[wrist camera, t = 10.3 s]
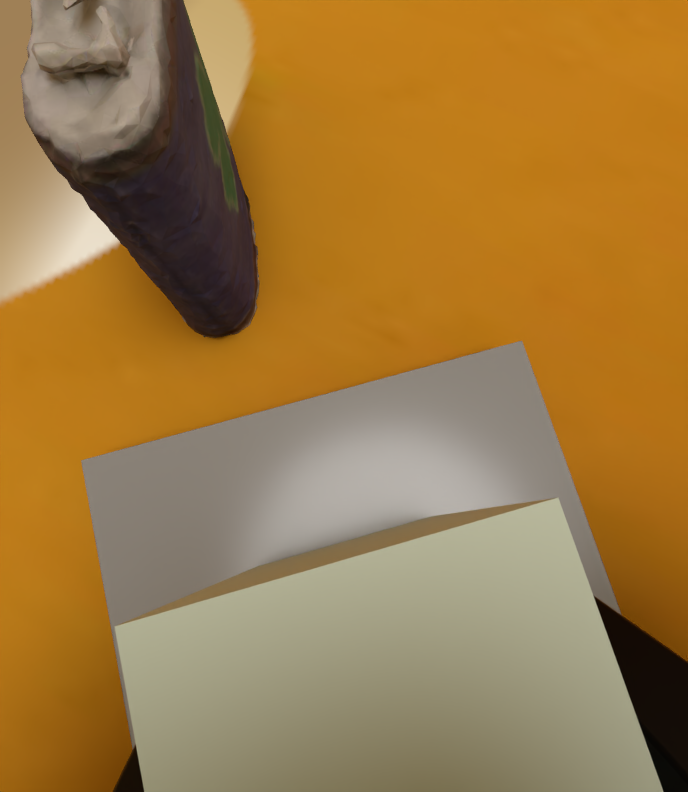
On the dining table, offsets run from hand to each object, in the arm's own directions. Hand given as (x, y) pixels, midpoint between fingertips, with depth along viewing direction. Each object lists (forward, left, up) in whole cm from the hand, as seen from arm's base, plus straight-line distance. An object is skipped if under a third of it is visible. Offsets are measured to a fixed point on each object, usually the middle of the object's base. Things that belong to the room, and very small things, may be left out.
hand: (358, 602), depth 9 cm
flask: (+10, +7, -7) cm, 14 cm away
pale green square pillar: (-1, -1, -5) cm, 5 cm away
